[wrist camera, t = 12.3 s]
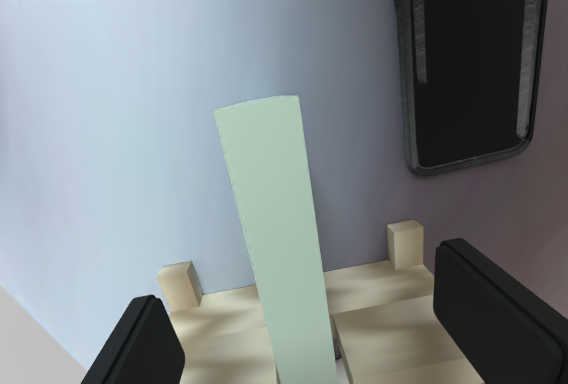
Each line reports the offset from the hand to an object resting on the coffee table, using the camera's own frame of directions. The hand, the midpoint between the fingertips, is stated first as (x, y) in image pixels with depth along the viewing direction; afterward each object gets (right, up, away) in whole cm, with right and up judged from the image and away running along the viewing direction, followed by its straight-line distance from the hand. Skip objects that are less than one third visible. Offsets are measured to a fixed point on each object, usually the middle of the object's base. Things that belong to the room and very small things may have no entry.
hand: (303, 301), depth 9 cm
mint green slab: (-1, +1, +10) cm, 10 cm away
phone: (+10, +13, +7) cm, 17 cm away
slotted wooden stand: (0, -4, +11) cm, 12 cm away
